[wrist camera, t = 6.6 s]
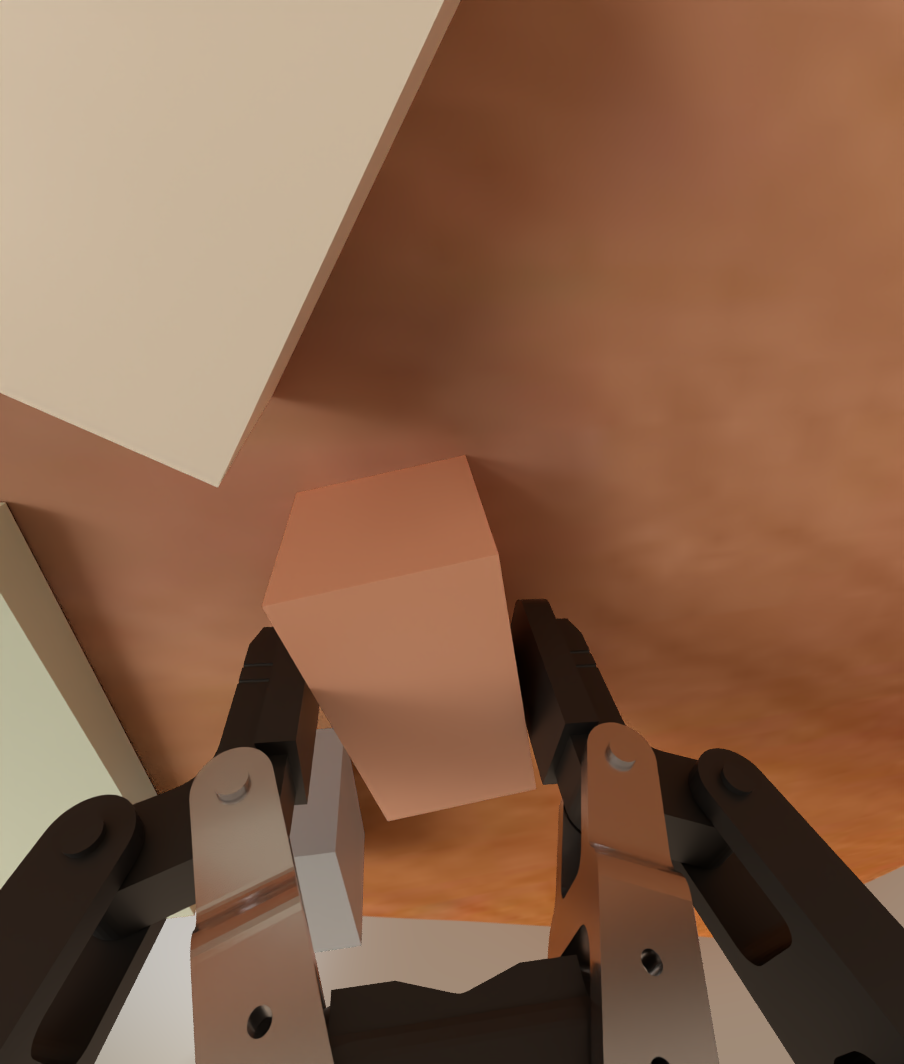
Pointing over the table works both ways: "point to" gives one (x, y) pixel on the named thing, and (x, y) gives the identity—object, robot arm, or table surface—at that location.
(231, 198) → the cream brick
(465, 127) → the table surface
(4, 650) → the sage baseplate
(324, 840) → the slate brick
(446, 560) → the terracotta brick
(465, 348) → the table surface
